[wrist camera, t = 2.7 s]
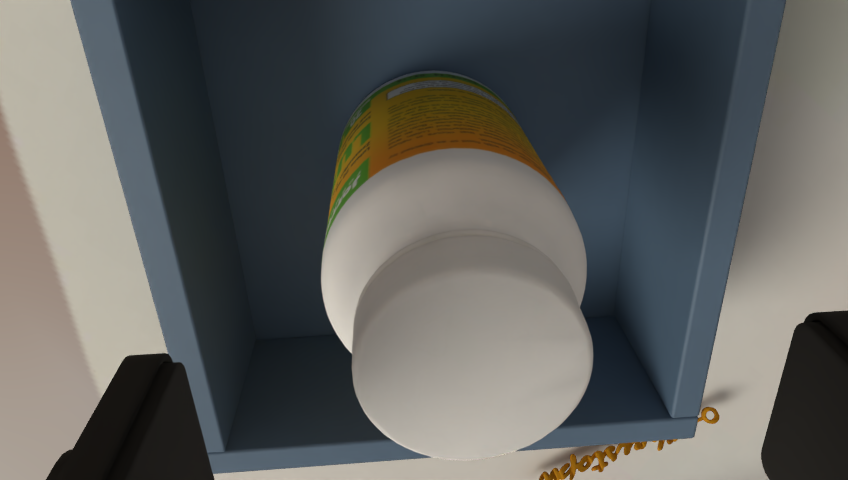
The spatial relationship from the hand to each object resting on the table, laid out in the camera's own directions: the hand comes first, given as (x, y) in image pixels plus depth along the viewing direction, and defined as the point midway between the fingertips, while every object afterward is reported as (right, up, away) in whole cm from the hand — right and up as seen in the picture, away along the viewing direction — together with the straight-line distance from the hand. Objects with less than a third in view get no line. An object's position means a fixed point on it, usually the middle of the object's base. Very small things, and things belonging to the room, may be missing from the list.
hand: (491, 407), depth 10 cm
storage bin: (-1, +5, +9) cm, 11 cm away
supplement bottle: (-1, +5, +9) cm, 11 cm away
